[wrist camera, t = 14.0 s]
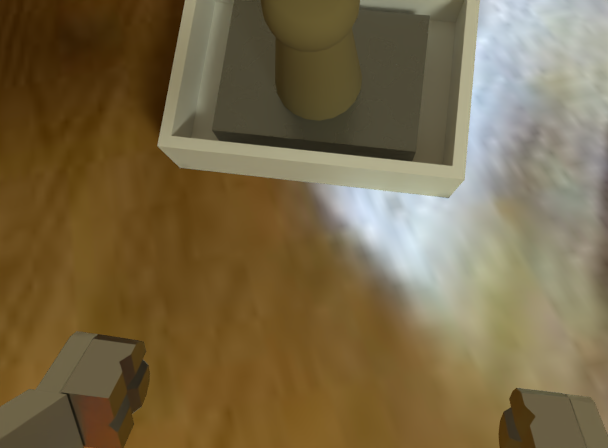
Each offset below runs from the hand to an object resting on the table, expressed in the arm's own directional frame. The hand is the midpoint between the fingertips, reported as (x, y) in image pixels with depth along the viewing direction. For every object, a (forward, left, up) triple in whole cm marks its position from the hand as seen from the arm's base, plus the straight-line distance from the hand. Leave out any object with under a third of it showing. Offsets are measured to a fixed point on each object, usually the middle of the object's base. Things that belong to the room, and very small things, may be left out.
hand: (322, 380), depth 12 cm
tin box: (-3, +18, -25) cm, 31 cm away
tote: (-3, +18, -26) cm, 32 cm away
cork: (-3, +18, -22) cm, 29 cm away
